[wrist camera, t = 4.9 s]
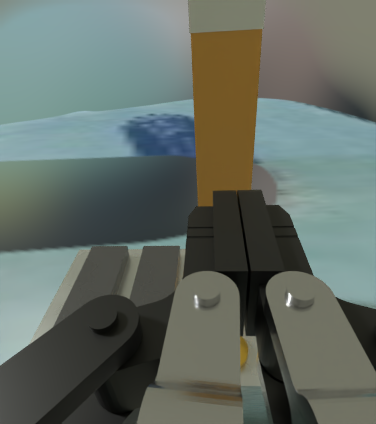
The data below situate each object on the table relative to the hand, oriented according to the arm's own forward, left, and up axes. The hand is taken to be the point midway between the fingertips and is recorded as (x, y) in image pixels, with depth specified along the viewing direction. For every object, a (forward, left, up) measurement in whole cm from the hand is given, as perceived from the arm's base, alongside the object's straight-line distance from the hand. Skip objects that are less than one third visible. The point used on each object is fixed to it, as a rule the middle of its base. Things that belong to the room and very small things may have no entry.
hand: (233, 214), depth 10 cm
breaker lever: (-3, +7, -8) cm, 11 cm away
